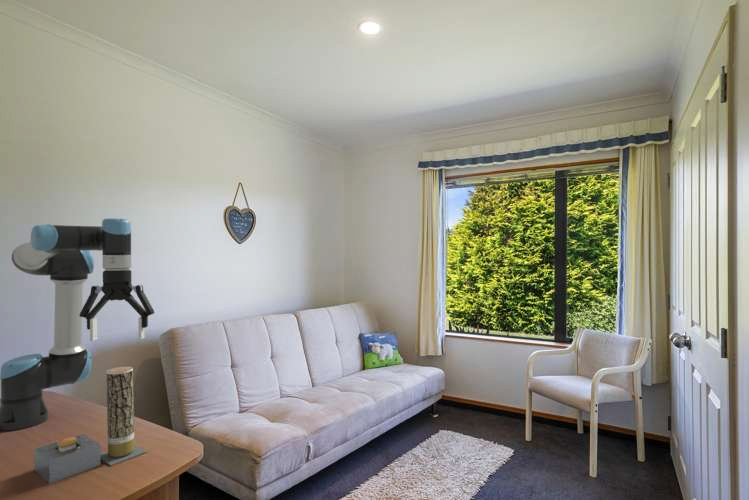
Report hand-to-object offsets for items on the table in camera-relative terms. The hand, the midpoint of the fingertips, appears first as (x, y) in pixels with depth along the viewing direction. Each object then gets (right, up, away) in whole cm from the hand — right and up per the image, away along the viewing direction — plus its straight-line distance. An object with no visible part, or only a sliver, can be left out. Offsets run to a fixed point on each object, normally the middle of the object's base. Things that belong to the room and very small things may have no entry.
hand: (117, 339), depth 131 cm
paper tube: (+2, -34, -2) cm, 34 cm away
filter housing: (-8, -34, -10) cm, 36 cm away
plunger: (-8, -33, -10) cm, 36 cm away
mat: (+3, -34, -3) cm, 34 cm away
